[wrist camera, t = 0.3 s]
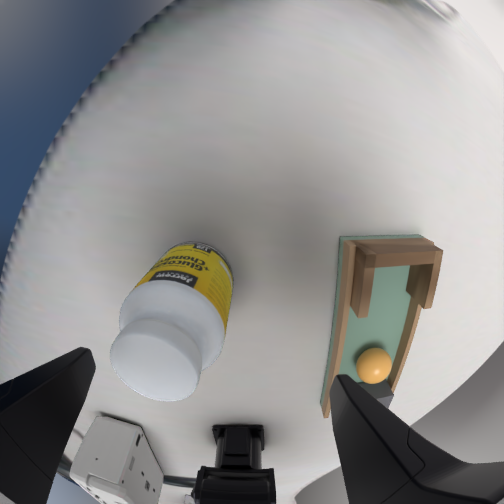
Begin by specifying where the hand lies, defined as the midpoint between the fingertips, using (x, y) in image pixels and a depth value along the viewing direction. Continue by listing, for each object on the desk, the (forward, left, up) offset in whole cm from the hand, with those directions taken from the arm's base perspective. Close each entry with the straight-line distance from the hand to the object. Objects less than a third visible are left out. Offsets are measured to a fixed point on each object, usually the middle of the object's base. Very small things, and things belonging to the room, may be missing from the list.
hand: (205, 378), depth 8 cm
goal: (-2, -13, -14) cm, 19 cm away
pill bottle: (-2, +3, -14) cm, 15 cm away
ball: (-11, -13, -13) cm, 21 cm away
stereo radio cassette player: (-34, +19, -14) cm, 42 cm away
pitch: (-9, -13, -14) cm, 21 cm away
